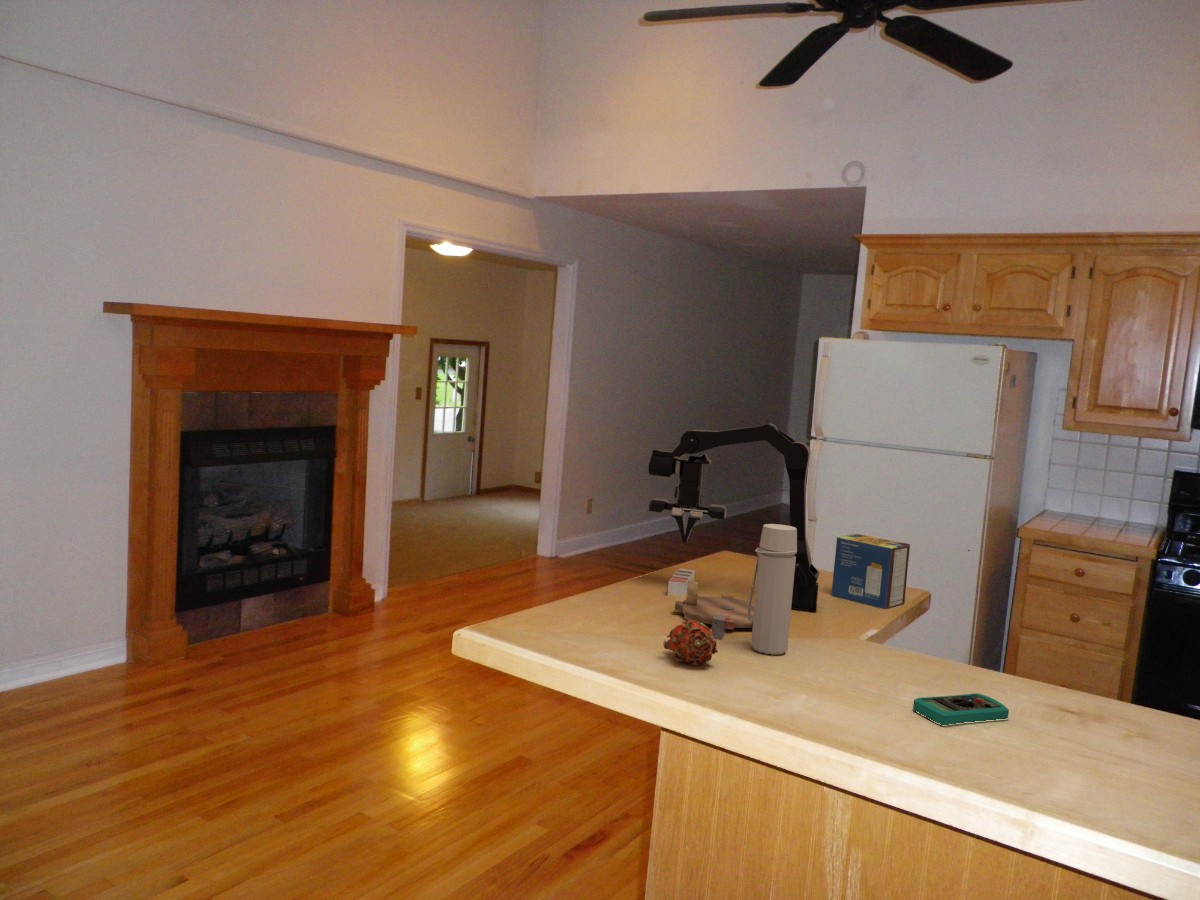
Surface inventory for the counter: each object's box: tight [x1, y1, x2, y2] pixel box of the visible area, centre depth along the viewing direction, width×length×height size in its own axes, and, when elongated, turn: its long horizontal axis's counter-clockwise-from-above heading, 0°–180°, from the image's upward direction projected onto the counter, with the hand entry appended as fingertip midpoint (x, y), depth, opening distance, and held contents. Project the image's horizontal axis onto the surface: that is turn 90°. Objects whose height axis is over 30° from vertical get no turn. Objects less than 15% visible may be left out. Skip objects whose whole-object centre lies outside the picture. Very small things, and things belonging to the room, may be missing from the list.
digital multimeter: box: [912, 692, 1010, 725], centre depth 151 cm, size 7×15×3 cm, turn 112°
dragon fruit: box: [663, 620, 719, 667], centre depth 169 cm, size 8×8×12 cm
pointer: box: [710, 614, 726, 640], centre depth 187 cm, size 2×5×4 cm, turn 165°
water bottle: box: [748, 523, 797, 656], centre depth 179 cm, size 9×8×25 cm
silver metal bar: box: [667, 568, 696, 598], centre depth 226 cm, size 4×16×4 cm, turn 165°
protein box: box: [830, 533, 911, 610], centre depth 229 cm, size 10×15×16 cm
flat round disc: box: [674, 580, 755, 630], centre depth 201 cm, size 23×23×6 cm
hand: (684, 542), depth 224 cm, fingers closed
